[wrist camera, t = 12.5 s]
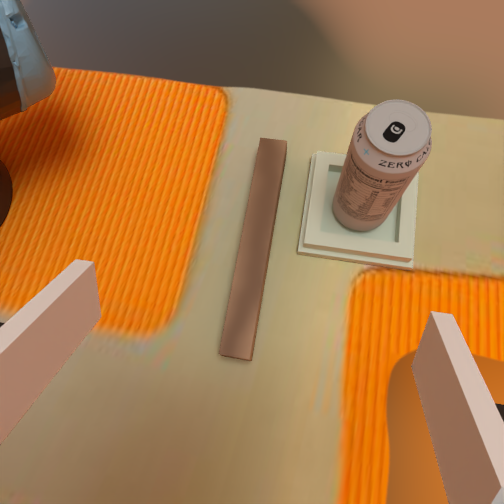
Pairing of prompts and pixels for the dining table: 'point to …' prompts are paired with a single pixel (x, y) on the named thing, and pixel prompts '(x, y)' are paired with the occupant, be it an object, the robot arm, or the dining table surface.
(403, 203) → the keeper plate
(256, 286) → the walnut sill
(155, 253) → the dining table surface
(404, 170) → the energy drink can
